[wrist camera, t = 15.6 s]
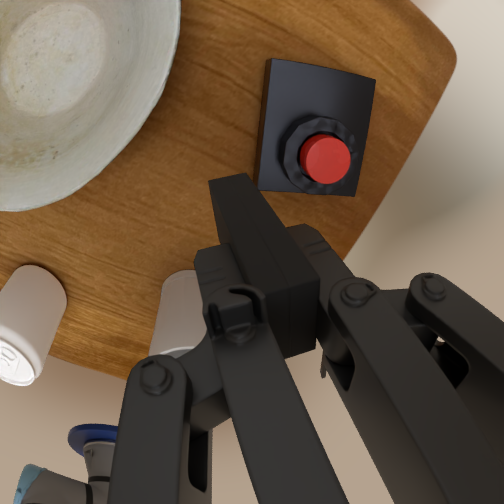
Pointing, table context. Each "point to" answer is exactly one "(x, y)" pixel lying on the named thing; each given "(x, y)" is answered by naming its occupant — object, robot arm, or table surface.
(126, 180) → the table surface
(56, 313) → the beverage can
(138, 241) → the table surface
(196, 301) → the cup
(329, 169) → the button
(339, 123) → the button base
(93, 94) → the bowl
